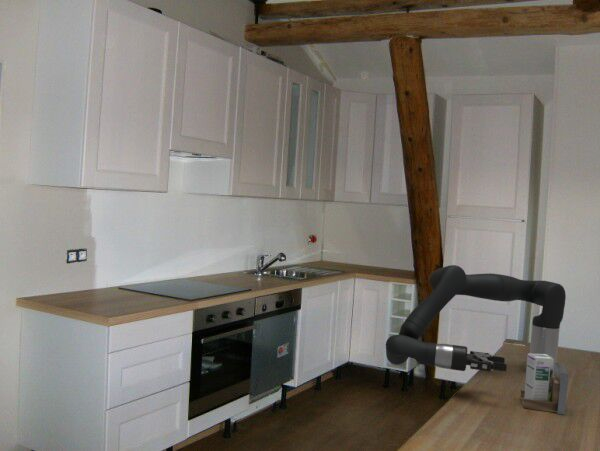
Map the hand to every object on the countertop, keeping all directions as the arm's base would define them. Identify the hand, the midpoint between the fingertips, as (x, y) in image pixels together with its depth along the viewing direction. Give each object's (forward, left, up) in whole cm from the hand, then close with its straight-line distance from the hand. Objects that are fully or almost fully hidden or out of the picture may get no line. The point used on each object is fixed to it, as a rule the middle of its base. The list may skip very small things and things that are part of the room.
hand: (505, 364), depth 194 cm
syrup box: (0, +10, -11) cm, 15 cm away
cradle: (0, +10, -11) cm, 15 cm away
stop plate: (0, +16, -11) cm, 19 cm away
